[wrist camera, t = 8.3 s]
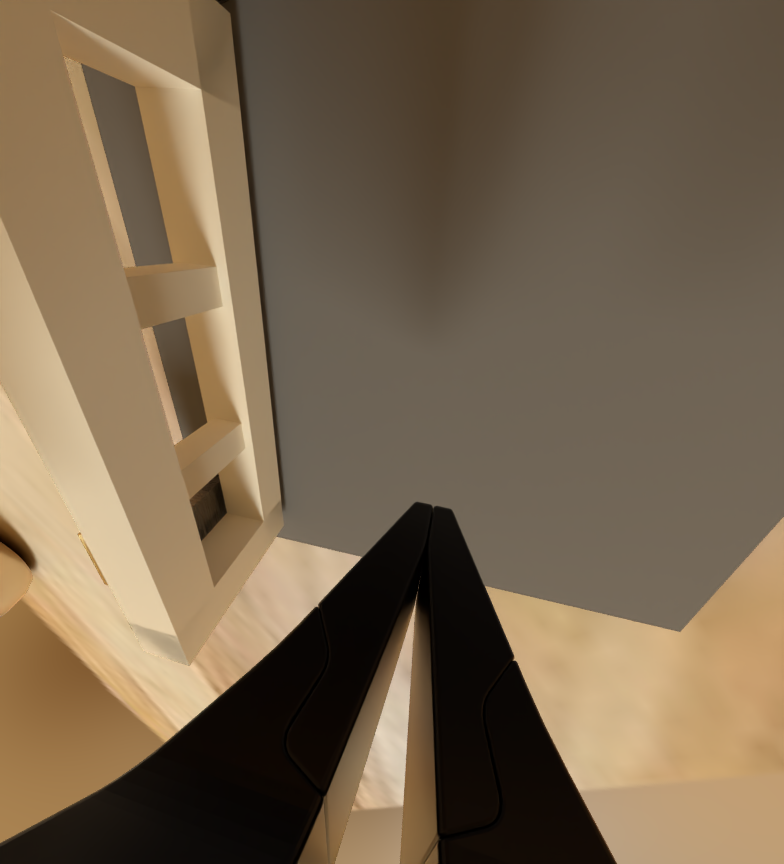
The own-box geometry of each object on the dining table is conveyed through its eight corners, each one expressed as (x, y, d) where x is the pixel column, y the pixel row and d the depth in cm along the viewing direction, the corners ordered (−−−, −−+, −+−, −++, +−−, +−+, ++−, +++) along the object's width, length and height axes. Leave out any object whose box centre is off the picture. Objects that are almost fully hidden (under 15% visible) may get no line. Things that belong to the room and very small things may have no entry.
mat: (-2, -324, 7) (-35, -363, 6) (1741, -626, 4) (1918, -746, 3) (211, 512, 18) (204, 519, 17) (674, 620, 15) (680, 631, 14)
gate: (166, 13, 8) (-418, -404, 3) (230, 13, 8) (-278, -441, 2) (251, 517, 16) (143, 651, 11) (283, 525, 16) (189, 666, 10)
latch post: (205, 438, 15) (77, 534, 10) (254, 448, 15) (146, 551, 10) (215, 480, 17) (104, 584, 12) (261, 490, 16) (167, 601, 11)
